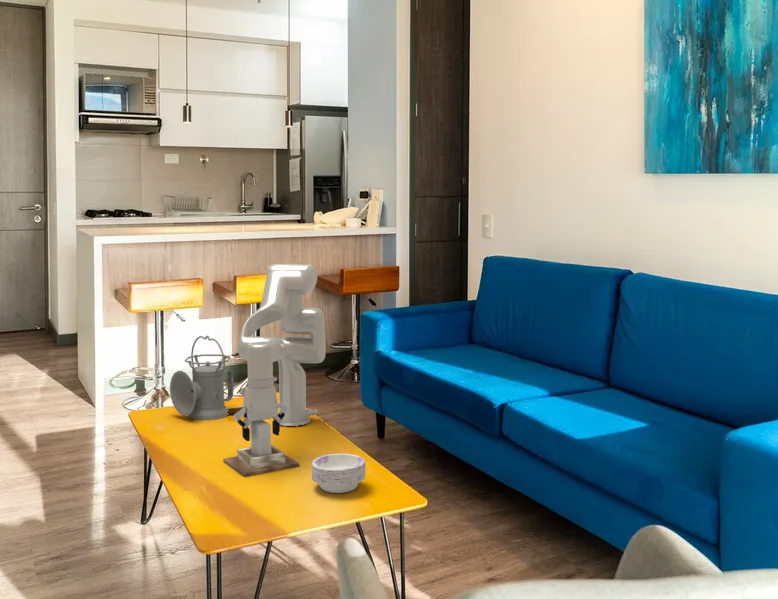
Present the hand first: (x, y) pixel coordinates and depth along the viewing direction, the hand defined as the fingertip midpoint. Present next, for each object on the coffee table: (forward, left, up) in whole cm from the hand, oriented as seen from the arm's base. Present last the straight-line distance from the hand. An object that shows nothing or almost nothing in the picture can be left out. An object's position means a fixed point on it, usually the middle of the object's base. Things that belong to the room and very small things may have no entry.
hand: (261, 437), depth 249 cm
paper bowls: (-10, +30, -9) cm, 33 cm away
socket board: (0, 0, -8) cm, 8 cm away
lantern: (-7, -62, -9) cm, 63 cm away
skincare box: (0, 0, -8) cm, 8 cm away
